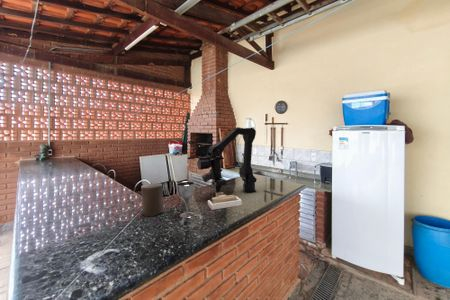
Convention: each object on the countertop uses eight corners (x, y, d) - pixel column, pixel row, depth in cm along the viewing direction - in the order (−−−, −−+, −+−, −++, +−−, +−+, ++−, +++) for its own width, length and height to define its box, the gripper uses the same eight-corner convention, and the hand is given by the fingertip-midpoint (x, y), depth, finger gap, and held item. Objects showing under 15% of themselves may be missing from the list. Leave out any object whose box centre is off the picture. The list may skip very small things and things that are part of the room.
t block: (208, 201, 115) (208, 194, 115) (229, 198, 119) (229, 191, 118) (214, 207, 105) (213, 200, 104) (236, 204, 108) (236, 196, 108)
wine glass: (175, 217, 95) (173, 184, 94) (186, 210, 102) (184, 180, 101) (189, 219, 91) (187, 186, 90) (199, 213, 98) (197, 182, 97)
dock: (236, 200, 114) (236, 196, 114) (241, 204, 107) (241, 200, 107) (208, 204, 109) (207, 200, 109) (211, 209, 102) (211, 204, 102)
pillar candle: (157, 217, 96) (155, 185, 95) (138, 216, 98) (136, 184, 97) (167, 209, 105) (165, 180, 104) (149, 208, 107) (148, 180, 106)
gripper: (198, 166, 125) (200, 192, 127) (206, 171, 108) (208, 201, 109) (216, 164, 129) (217, 189, 130) (226, 169, 111) (227, 198, 113)
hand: (217, 194), depth 121 cm, fingers closed
